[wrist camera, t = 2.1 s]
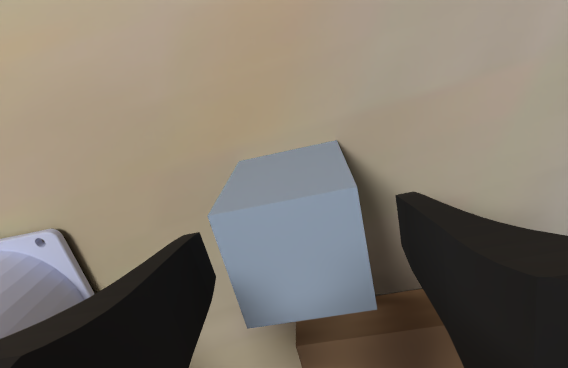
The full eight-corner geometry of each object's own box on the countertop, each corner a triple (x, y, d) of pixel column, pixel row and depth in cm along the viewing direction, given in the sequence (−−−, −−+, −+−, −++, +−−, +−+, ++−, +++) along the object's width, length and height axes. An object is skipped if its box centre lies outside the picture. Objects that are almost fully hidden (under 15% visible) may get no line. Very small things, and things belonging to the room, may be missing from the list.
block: (263, 243, 16) (247, 328, 11) (239, 161, 15) (207, 216, 10) (352, 227, 16) (377, 309, 11) (336, 140, 14) (356, 186, 9)
